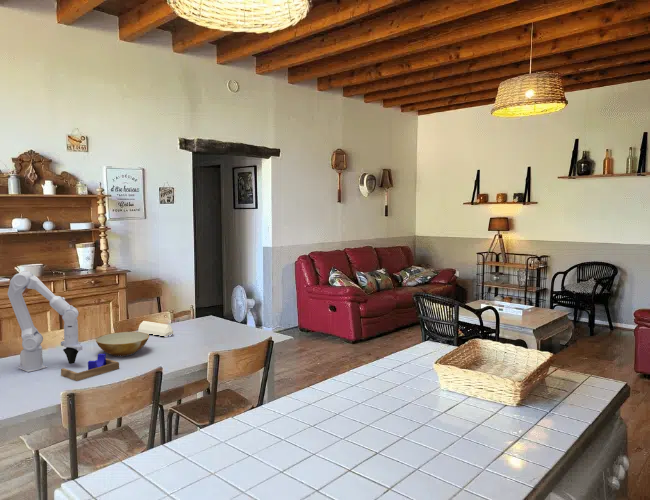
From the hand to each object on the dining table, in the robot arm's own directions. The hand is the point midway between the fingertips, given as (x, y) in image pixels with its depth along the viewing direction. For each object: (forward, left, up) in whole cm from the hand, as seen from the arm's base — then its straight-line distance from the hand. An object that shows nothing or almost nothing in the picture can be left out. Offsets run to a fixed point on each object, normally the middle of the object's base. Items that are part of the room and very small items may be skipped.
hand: (71, 363), depth 224 cm
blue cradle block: (+14, +3, -2) cm, 15 cm away
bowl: (+1, +26, -2) cm, 26 cm away
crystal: (-16, +60, -2) cm, 62 cm away
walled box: (+15, 0, -1) cm, 15 cm away
